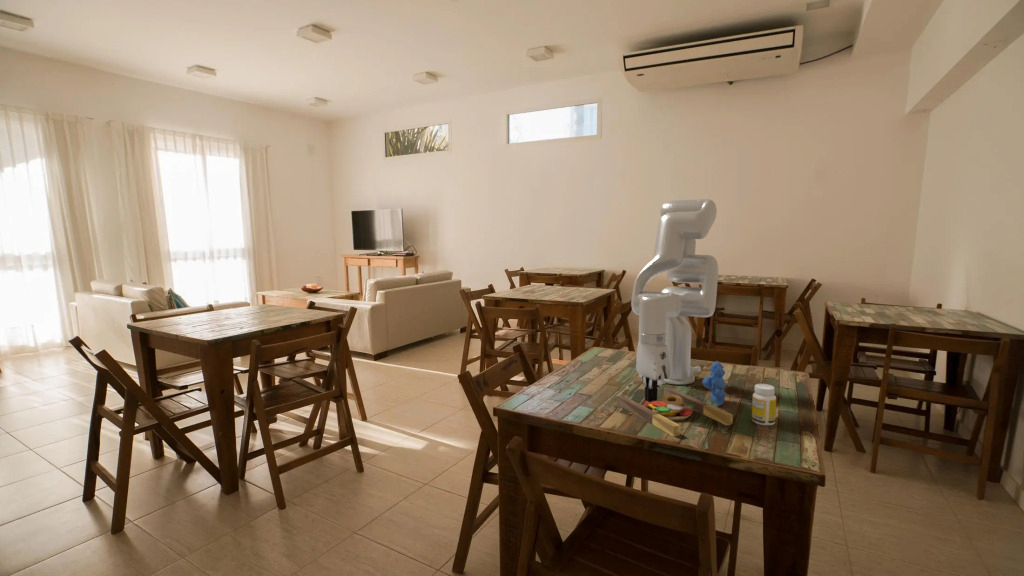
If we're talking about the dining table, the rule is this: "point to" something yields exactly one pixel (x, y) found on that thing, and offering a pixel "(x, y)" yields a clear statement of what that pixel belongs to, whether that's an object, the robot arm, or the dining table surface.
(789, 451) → the dining table surface
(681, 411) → the toy food set
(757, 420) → the supplement bottle
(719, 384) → the grapes
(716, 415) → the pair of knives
